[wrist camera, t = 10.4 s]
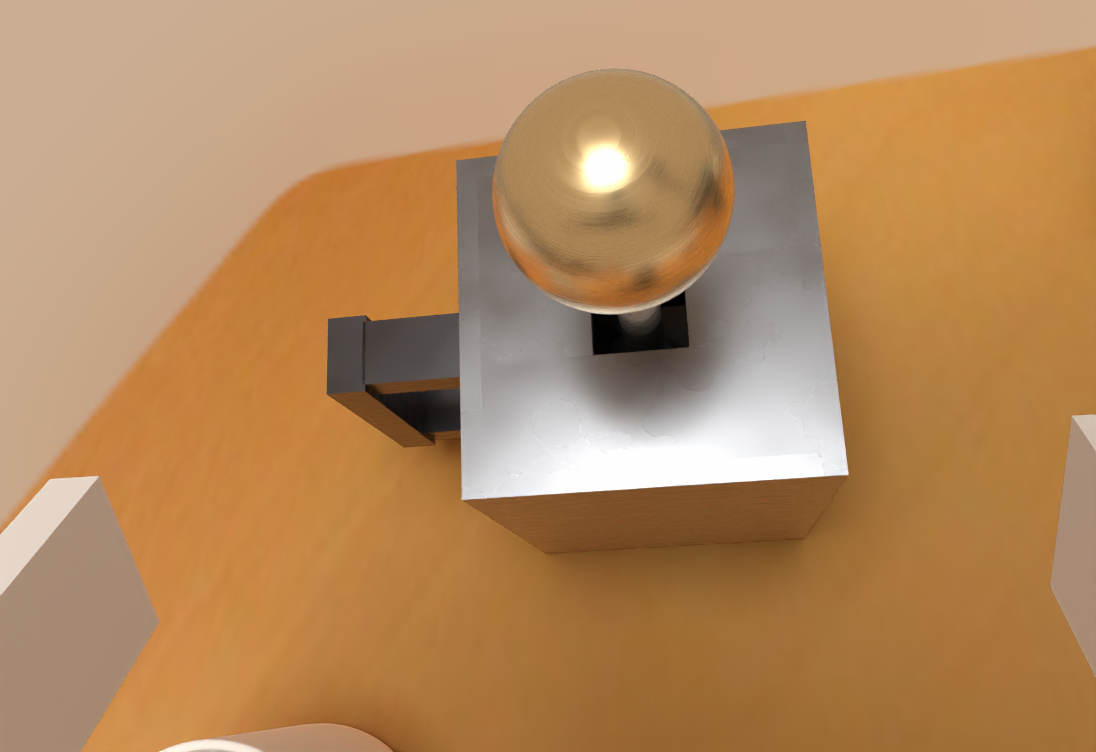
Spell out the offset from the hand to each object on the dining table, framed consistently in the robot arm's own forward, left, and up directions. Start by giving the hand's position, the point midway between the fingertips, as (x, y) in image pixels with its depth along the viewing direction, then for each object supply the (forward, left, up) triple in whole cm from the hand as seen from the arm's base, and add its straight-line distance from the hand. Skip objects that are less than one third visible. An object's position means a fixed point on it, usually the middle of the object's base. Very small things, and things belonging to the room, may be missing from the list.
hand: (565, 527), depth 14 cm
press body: (+2, -8, -26) cm, 28 cm away
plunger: (-1, -8, -25) cm, 26 cm away
